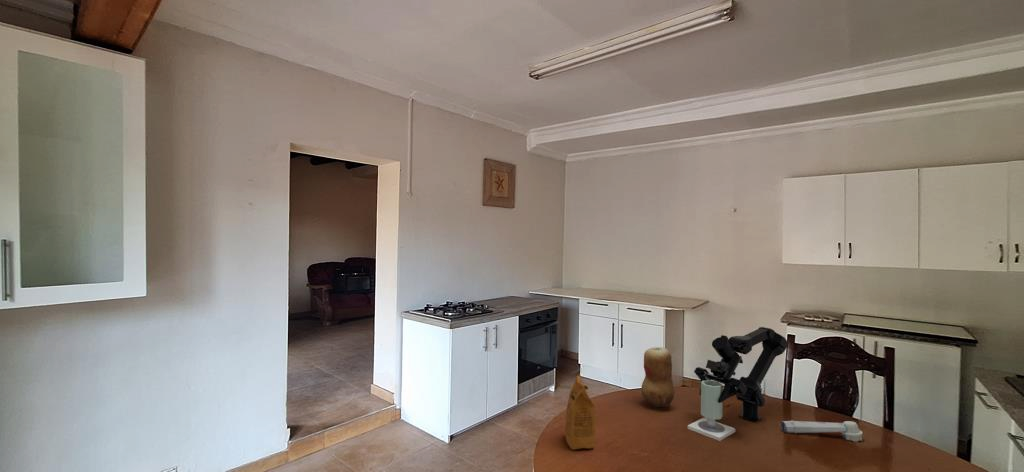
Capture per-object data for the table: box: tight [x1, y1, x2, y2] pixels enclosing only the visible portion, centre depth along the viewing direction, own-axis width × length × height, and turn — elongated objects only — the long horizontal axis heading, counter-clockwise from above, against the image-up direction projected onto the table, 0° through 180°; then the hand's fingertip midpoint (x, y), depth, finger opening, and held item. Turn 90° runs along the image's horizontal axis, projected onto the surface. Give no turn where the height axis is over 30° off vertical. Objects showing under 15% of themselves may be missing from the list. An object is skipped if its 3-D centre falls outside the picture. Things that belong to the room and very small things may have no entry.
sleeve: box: [700, 380, 723, 421], centre depth 155 cm, size 7×7×12 cm
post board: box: [687, 417, 736, 442], centre depth 155 cm, size 12×12×5 cm
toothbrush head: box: [780, 419, 864, 443], centre depth 152 cm, size 5×7×25 cm
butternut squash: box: [640, 346, 676, 408], centre depth 177 cm, size 14×13×25 cm
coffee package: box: [564, 375, 597, 450], centre depth 144 cm, size 10×12×22 cm
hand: (709, 398), depth 154 cm, fingers closed on sleeve, 7 cm apart
